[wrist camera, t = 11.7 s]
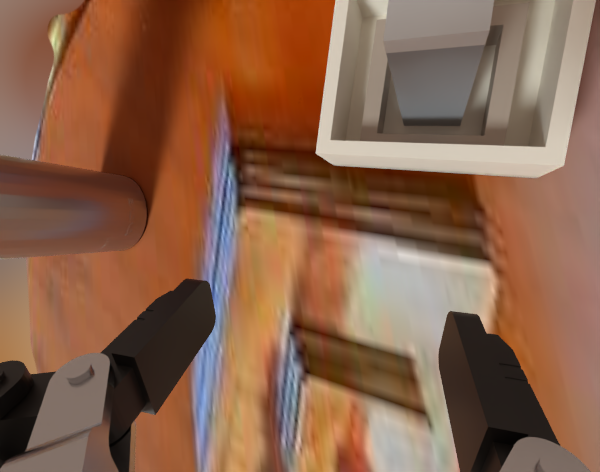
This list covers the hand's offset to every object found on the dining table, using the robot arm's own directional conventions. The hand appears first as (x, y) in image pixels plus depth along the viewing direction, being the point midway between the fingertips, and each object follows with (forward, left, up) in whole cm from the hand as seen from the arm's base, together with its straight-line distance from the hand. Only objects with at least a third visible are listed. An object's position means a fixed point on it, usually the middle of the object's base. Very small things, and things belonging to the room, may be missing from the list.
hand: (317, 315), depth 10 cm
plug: (+2, +13, -16) cm, 21 cm away
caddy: (+2, +14, -17) cm, 22 cm away
